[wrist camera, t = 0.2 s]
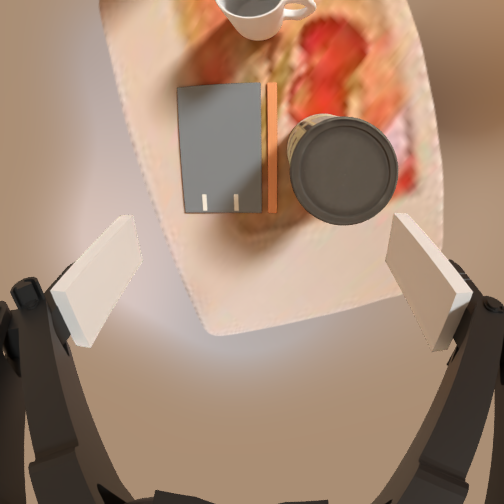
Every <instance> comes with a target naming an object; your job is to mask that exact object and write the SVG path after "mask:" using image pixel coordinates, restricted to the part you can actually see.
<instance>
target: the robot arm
mask: <svg viewBox="0 0 504 504" xmlns="http://www.w3.org/2000/svg"><path fill="white" fill-rule="evenodd" d="M385 261H386V263H387V265H388V267H389V268H390V270H391V272H392V274H393V276H394V277H395V279H396V281H397V283H398V285H399V287H400V289H401V290H402V292H403V294H404V296H405V298H406V300H407V302H408V304H409V306H410V308H411V309H412V312H413V314H414V316H415V318H416V320H417V322H418V324H419V326H420V328H421V330H422V332H423V334H424V336H425V339H426V340H427V343H428V345H429V347H430V349H431V351H432V352H434V351H440V350H447V349H448V347H449V345H450V343H451V341H452V339H454V340H455V342H456V344H457V346H456V348H455V350H454V352H453V354H452V356H451V357H450V359H449V361H448V363H447V365H448V368H447V370H446V373H445V375H444V378H443V380H442V383H441V385H440V387H439V390H438V392H437V394H436V396H435V399H434V401H433V403H432V405H431V407H430V409H429V412H428V414H427V415H426V418H425V420H424V422H423V424H422V426H421V428H420V430H419V431H418V433H417V435H416V437H415V439H414V440H413V442H412V444H411V446H410V448H409V449H408V451H407V453H406V455H405V456H404V458H403V460H402V461H401V463H400V465H399V466H398V468H397V470H396V471H395V473H394V474H393V476H392V477H391V479H390V481H389V482H388V483H387V485H386V487H385V488H384V489H383V491H382V492H381V493H380V495H379V496H378V497H377V498H376V499H375V501H373V503H372V504H463V502H464V500H465V498H466V496H467V493H468V490H469V484H468V483H466V482H465V478H466V475H467V472H468V470H469V467H470V465H471V462H472V460H473V457H474V455H475V452H476V449H477V446H478V444H479V441H480V438H481V435H482V432H483V428H484V425H485V422H486V419H487V415H488V412H489V408H490V404H491V400H492V396H493V392H494V388H495V420H494V438H493V451H492V461H491V469H490V476H489V483H488V489H487V495H486V500H485V504H504V306H503V304H501V302H499V301H498V300H497V299H495V298H492V297H489V296H483V295H482V294H481V292H480V291H479V290H478V288H477V287H476V286H475V285H474V283H473V282H472V281H471V280H470V278H469V277H468V276H467V274H465V272H464V271H463V269H462V268H461V267H460V266H459V265H458V264H456V263H454V261H452V260H448V259H447V258H446V257H445V256H444V255H443V254H442V252H441V251H440V250H439V249H438V247H437V246H436V245H435V244H434V243H433V242H432V240H431V239H430V238H429V237H428V236H427V235H426V234H425V233H424V231H423V230H422V229H421V228H420V227H419V226H418V225H417V224H416V223H415V221H414V220H413V219H412V218H411V217H410V216H409V215H408V214H407V213H394V215H393V221H392V227H391V233H390V239H389V244H388V250H387V255H386V260H385ZM142 262H143V259H142V255H141V251H140V246H139V241H138V237H137V232H136V227H135V223H134V217H133V215H122V216H119V217H118V218H117V219H116V220H115V221H114V222H113V223H112V224H111V225H110V226H109V227H108V228H107V229H106V230H105V231H104V232H103V233H102V234H101V235H100V236H99V237H98V238H97V240H95V241H94V242H93V244H92V245H91V246H90V247H89V248H88V249H87V250H86V251H85V252H84V253H83V254H82V255H81V256H80V257H79V258H78V259H77V261H75V262H74V263H72V264H71V265H70V266H68V267H67V268H66V269H65V270H64V271H63V272H62V275H60V276H59V277H58V278H57V280H55V281H54V282H53V284H52V285H51V286H50V287H49V288H48V289H47V290H46V292H45V293H43V291H42V289H41V286H40V284H39V282H38V280H37V278H35V277H28V278H25V279H23V280H21V281H19V282H18V283H16V284H15V285H14V286H13V287H12V289H11V291H10V293H11V295H12V297H13V299H14V301H15V303H16V305H17V307H18V309H17V310H11V311H10V310H9V308H8V306H7V304H6V302H4V301H0V504H26V493H25V477H24V428H25V412H26V414H27V419H28V425H29V431H30V435H31V440H32V445H33V449H34V453H35V458H36V459H35V461H34V462H31V463H30V464H29V467H28V468H29V474H30V478H31V482H32V485H33V488H34V492H35V495H36V498H37V501H38V504H214V503H211V502H208V501H205V500H203V499H200V498H197V497H192V496H186V495H180V494H174V493H169V492H164V491H159V490H155V494H154V497H149V498H142V499H137V500H134V498H133V497H132V496H131V494H130V493H129V492H128V490H127V489H126V488H125V487H124V485H123V484H122V482H121V481H120V479H119V477H118V475H117V473H116V471H115V469H114V467H113V465H112V463H111V461H110V459H109V456H108V454H107V452H106V450H105V447H104V445H103V443H102V441H101V438H100V436H99V433H98V431H97V428H96V426H95V423H94V421H93V418H92V416H91V413H90V411H89V407H88V405H87V402H86V399H85V396H84V393H83V391H82V387H81V384H80V381H79V378H78V374H77V371H76V368H75V365H74V361H73V357H72V354H71V350H70V347H69V345H68V343H67V339H68V338H69V336H70V335H71V336H72V338H73V340H74V342H75V344H76V345H78V346H84V347H89V348H90V347H91V346H92V344H93V342H94V341H95V339H96V337H97V335H98V334H99V332H100V330H101V328H102V327H103V325H104V323H105V322H106V320H107V318H108V316H109V315H110V313H111V311H112V310H113V308H114V306H115V305H116V303H117V301H118V300H119V298H120V297H121V295H122V293H123V292H124V290H125V289H126V287H127V285H128V284H129V282H130V280H131V279H132V277H133V276H134V274H135V273H136V271H137V269H138V268H139V266H140V265H141V263H142ZM3 351H4V353H5V356H4V354H3ZM280 504H328V500H321V501H306V502H285V503H280Z"/></svg>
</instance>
